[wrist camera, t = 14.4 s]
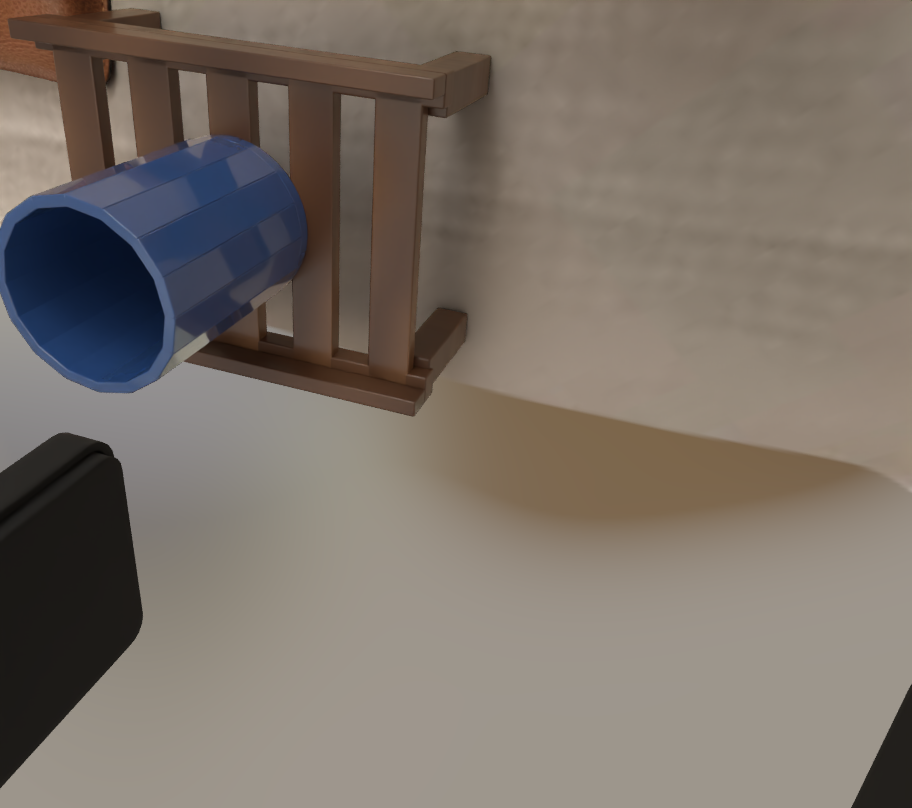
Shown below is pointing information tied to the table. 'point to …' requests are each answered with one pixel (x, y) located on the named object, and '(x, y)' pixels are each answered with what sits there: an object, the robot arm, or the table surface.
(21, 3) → the sunglasses case
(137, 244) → the cup
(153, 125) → the rack
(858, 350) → the table surface
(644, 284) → the table surface
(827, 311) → the table surface
